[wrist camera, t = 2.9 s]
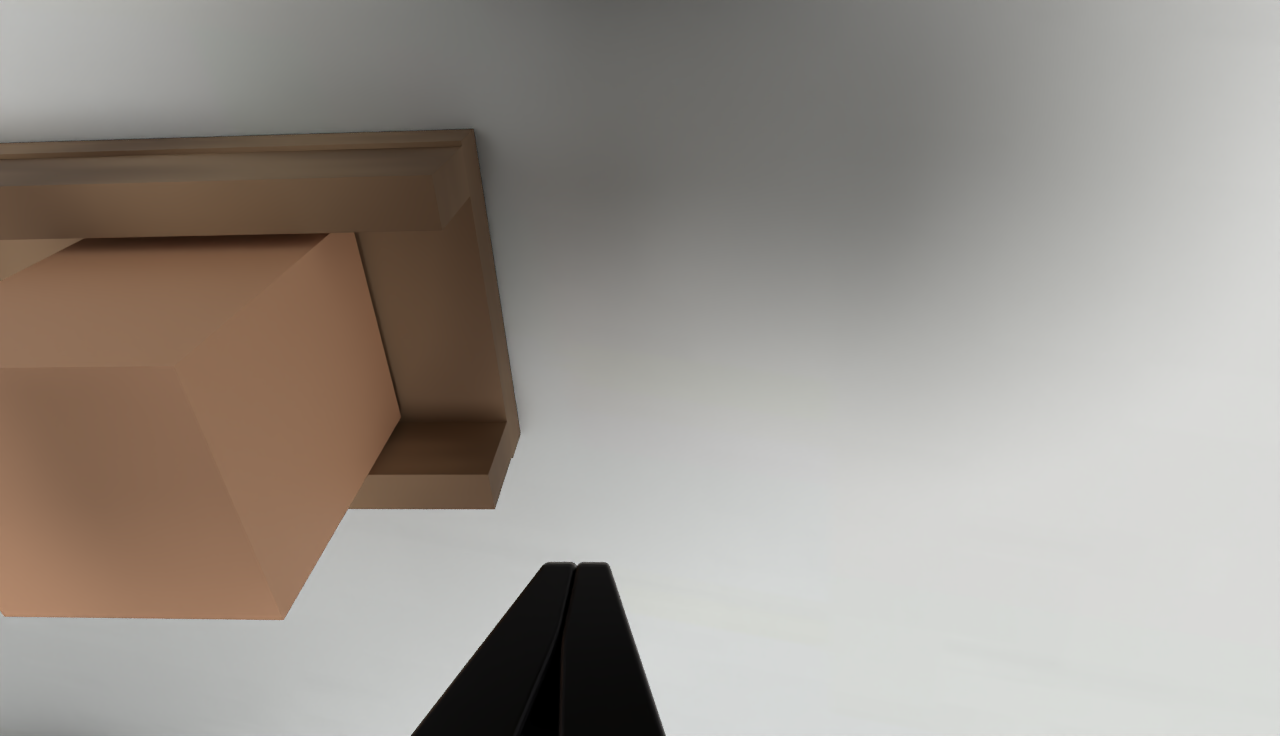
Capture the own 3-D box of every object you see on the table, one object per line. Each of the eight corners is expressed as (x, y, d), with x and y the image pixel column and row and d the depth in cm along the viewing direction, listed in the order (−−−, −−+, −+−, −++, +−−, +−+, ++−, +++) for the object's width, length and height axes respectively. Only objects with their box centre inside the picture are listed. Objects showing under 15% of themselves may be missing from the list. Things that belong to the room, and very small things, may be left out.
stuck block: (201, 418, 18) (4, 617, 12) (116, 221, 15) (-175, 369, 10) (401, 417, 17) (282, 619, 12) (350, 216, 15) (174, 366, 10)
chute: (-52, 436, 20) (-161, 510, 17) (-240, 150, 16) (-418, 191, 13) (520, 434, 19) (495, 512, 16) (473, 128, 15) (430, 169, 12)
